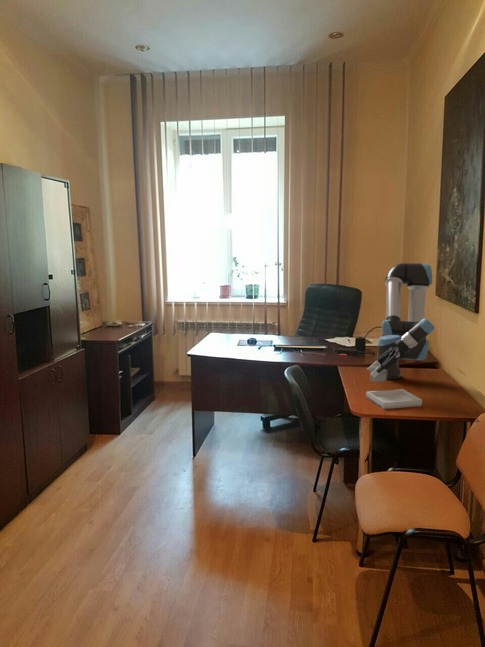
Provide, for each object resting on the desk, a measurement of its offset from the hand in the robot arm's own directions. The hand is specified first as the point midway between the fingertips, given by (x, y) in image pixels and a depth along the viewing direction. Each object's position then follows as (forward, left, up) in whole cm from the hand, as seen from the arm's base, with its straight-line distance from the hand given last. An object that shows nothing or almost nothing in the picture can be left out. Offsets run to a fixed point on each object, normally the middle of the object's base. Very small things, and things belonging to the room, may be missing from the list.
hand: (370, 373), depth 234 cm
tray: (+16, +3, -10) cm, 19 cm away
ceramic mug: (0, +4, -4) cm, 6 cm away
